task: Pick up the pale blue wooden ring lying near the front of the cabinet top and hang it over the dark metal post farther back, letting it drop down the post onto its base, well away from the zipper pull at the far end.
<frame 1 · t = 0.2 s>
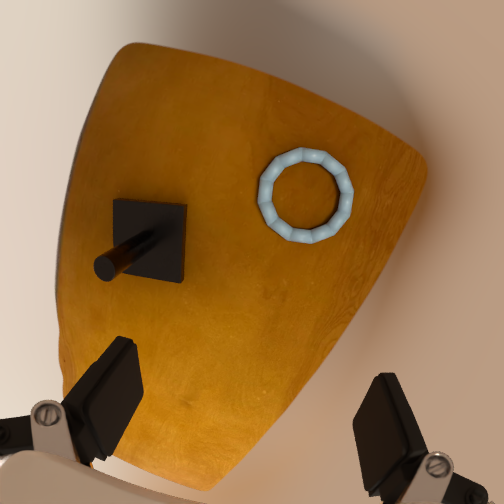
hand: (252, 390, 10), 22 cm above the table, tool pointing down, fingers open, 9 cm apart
ring: (306, 196, 29), point 1 cm above the table
post: (149, 238, 32), on the table
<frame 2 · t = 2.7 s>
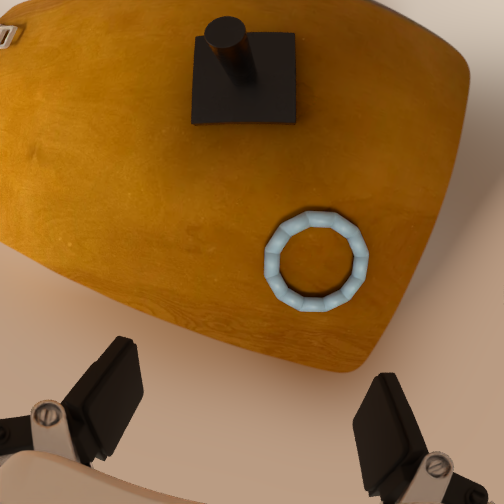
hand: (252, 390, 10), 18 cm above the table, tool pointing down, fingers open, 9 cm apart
zipper pull: (0, 41, 20), on the table
ring: (317, 264, 26), point 1 cm above the table
post: (244, 78, 22), on the table
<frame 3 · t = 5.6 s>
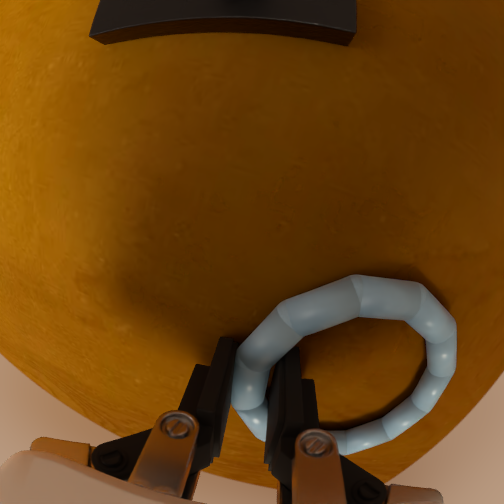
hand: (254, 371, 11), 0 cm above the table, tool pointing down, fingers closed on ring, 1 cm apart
ring: (351, 387, 10), point 1 cm above the table, touching gripper
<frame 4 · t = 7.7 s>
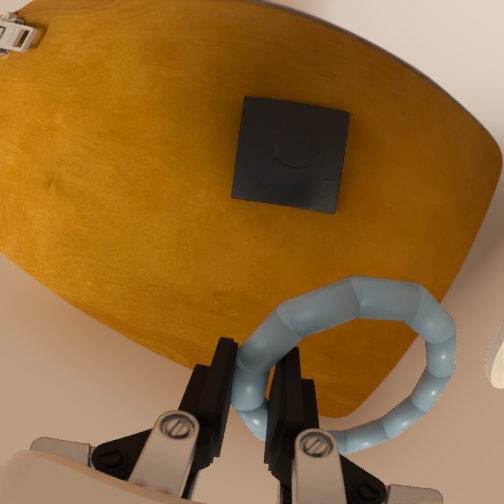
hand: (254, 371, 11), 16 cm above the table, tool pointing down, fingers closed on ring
zipper pull: (17, 38, 20), on the table
ring: (351, 388, 10), point 17 cm above the table, touching gripper
post: (290, 153, 24), on the table
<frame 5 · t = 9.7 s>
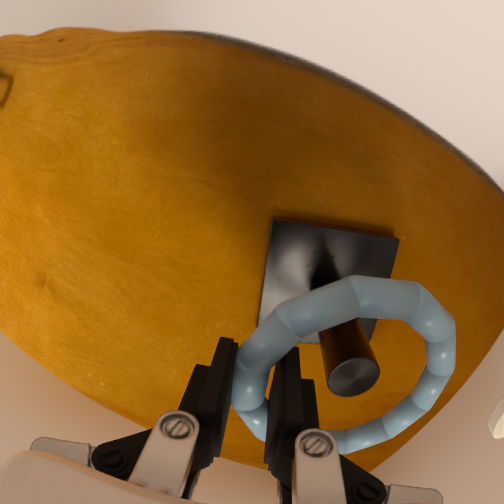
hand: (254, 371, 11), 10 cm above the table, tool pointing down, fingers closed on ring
ring: (351, 387, 10), point 11 cm above the table, touching gripper
post: (324, 285, 21), on the table
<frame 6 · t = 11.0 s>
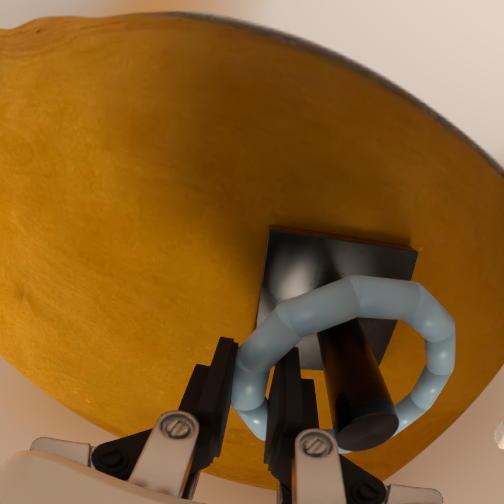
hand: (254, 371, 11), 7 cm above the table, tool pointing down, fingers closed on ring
ring: (351, 387, 10), point 8 cm above the table, touching gripper
post: (330, 304, 17), on the table
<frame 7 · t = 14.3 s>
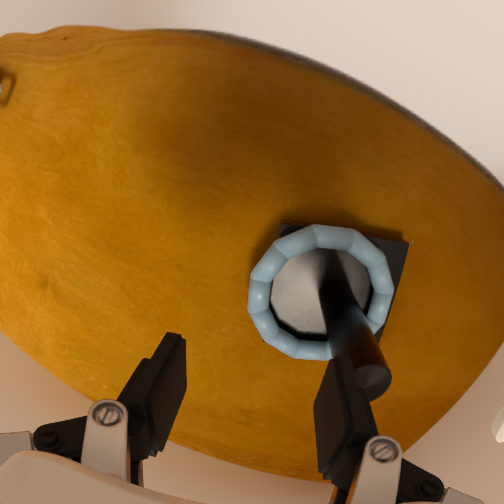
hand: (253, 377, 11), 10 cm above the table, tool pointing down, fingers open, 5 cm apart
ring: (322, 299, 18), point 2 cm above the table, touching post
post: (333, 289, 20), on the table
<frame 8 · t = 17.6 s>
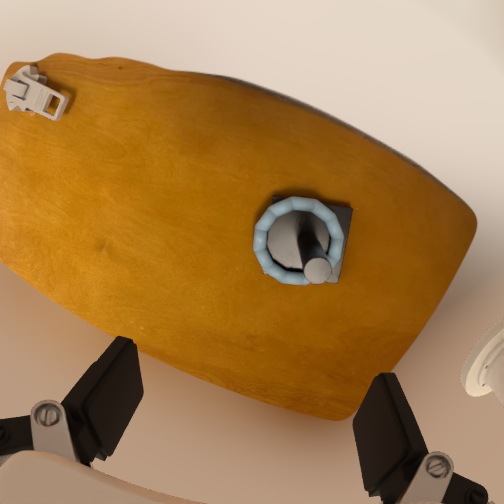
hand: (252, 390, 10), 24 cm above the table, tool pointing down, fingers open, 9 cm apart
zipper pull: (42, 95, 29), on the table
ring: (298, 242, 31), point 2 cm above the table, touching post
post: (306, 239, 33), on the table
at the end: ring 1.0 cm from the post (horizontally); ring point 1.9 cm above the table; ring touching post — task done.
